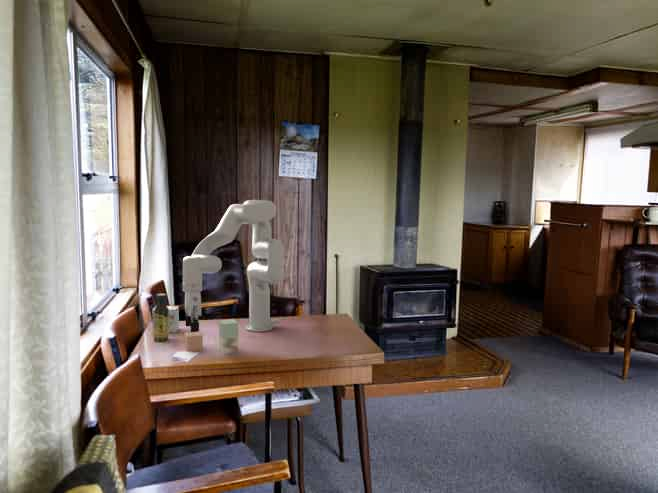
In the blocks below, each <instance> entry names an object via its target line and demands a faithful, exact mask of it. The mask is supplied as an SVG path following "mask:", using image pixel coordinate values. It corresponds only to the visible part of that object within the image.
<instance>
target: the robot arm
mask: <svg viewBox="0 0 658 493" xmlns="http://www.w3.org/2000/svg"><path fill="white" fill-rule="evenodd" d="M276 214H277V207H276V204H275V203H274V202H273V201H272V200H266V199H264V200H263V199H247V200H245V201H244V202H243V203H234V204H230V205H229V207H228V208H227V210H226V211H225V213H224V215H223V216H222V218H221V219H220V221H219V224H217V227H216V228H215V230H214V231H213V232H211V233H210V234H208V235H207V236H206V237H205V238H204V239H202V240H201V241H200V242H199V243H198V244H197V246H196V247H195V249H194V250H193V252H192V254H191V255H189V256H188V255H187V256H185V257H183V260H182V292H184V312H185V327H190V332H200V317H202V314H203V313H202V312H203V311H202V296H201V295H202V294H201V292H202V291H203V274H211V275H212V274H216V273H218V272H219V271H220V270H221V269H222V266H223V265H222V264H223V263H222V260H221V258H219V257H218V256H217V255H213V254H211V253H212V252H214V251H215V250H216V249H218V248H220V247H222V246H226V245H227V244H229V243H232V242H233V240H234V239H235V237H236V236H237V233H238V232H239V230H240V229H241V227H242V225H244V224H245V225H251V227H252V238H251V239H252V240H251V254H252V255H253V257H254V258H257V259H264V260H267V261H262V260H261V261H260V260H257V261H256V260H255V261H252V262H251V263H249V264H248V266H247V268H246V275H247V276H246V277H247V280H248V291H249V292H248V295H249V296H248V297H249V298H248V299H249V300H248V301H249V302H248V303H249V304H248V306H249V307H248V322H249V323H248V324H246V325H245V329H246V331H250V332H255V333H256V332H258V333H259V332H269V331H271V330H273V328H274V324H280V318H271V307H270V306H271V291H270V287H269V285H276V284H279V283H280V282H281V280H282V278H283V274H284V266H285V265H284V264H285V262H284V261H285V247H284V245H283V243H282V241H281V240H279V239H276V238H272V226H271V223H270V220H272V219H273V218H274V217H275V216H276Z"/></svg>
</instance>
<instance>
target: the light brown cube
mask: <svg viewBox="0 0 658 493" xmlns="http://www.w3.org/2000/svg"><path fill="white" fill-rule="evenodd" d="M183 335H184V348H185V350H186V351H187V352H193V351H195V352H196V351H202V350H204V348H203V347H204V346H203V344H204V343H203V339H204V338H203V336H204V335H203V334H202V333H201V332H200V331H199V332H191V331H190V332H184V333H183Z"/></svg>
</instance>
